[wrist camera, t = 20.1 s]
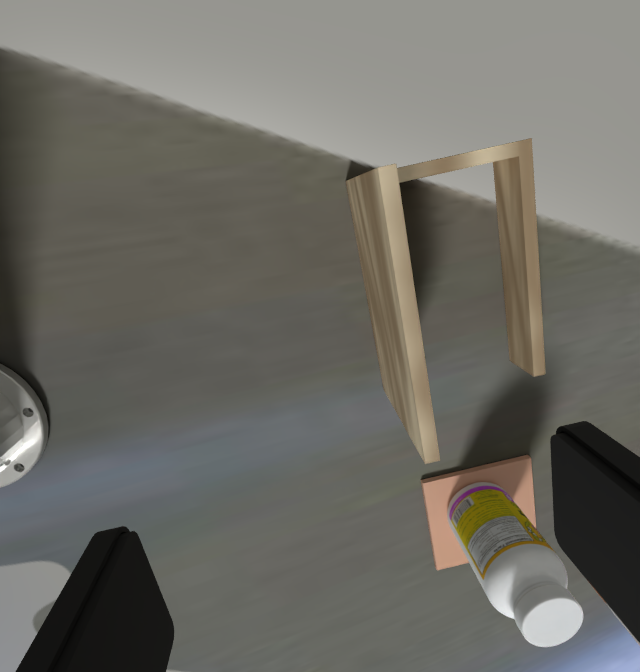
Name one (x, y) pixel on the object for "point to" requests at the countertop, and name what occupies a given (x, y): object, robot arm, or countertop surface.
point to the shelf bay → (398, 286)
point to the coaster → (443, 488)
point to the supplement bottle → (514, 564)
